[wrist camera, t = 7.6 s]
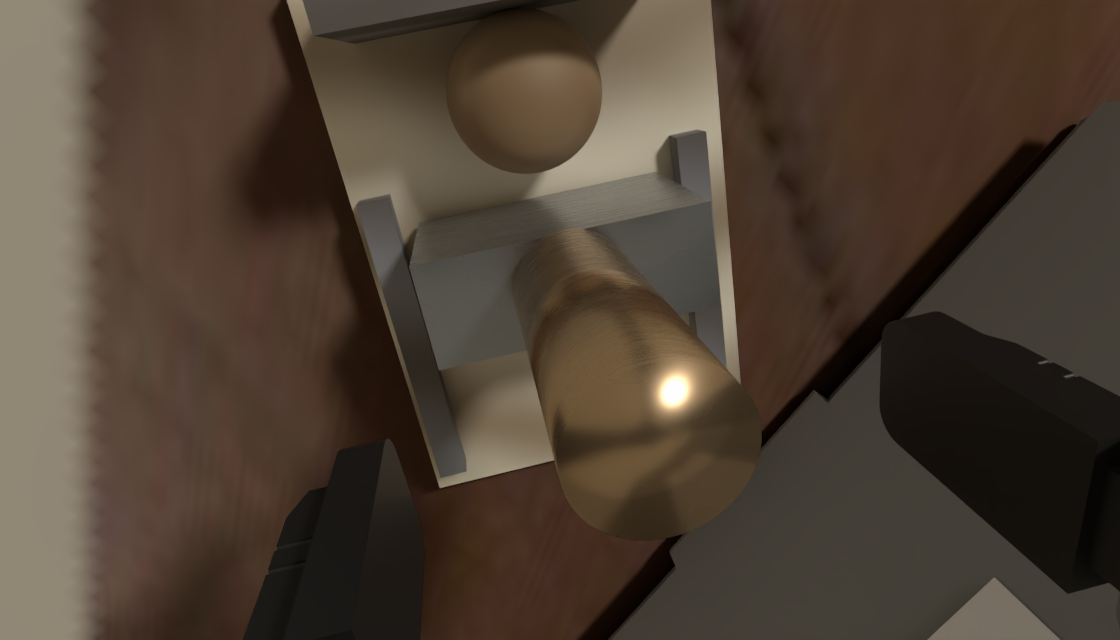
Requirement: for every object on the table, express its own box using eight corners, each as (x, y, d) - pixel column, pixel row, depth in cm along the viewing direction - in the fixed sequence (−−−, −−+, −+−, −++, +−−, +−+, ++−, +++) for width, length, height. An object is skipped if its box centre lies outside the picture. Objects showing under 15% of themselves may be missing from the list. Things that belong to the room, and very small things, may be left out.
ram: (418, 219, 21) (370, 429, 9) (655, 168, 21) (910, 301, 9) (442, 308, 22) (429, 599, 10) (666, 258, 23) (904, 477, 11)
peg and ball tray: (290, -17, 19) (203, -60, 13) (689, -91, 20) (804, -167, 13) (440, 470, 26) (435, 607, 20) (731, 399, 27) (820, 507, 21)
